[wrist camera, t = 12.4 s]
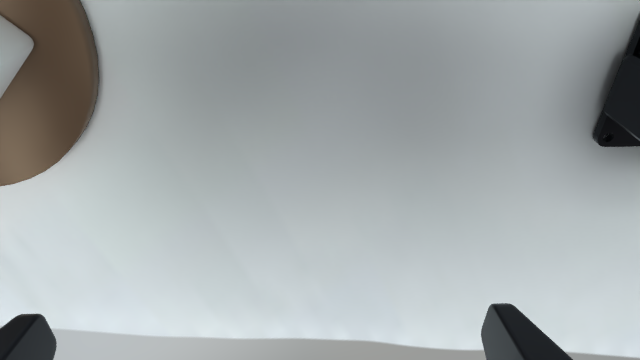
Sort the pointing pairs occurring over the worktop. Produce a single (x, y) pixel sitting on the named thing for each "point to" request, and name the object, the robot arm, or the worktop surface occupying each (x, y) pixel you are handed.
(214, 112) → the worktop surface
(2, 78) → the medicine bottle
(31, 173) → the walnut coaster
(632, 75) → the robot arm
